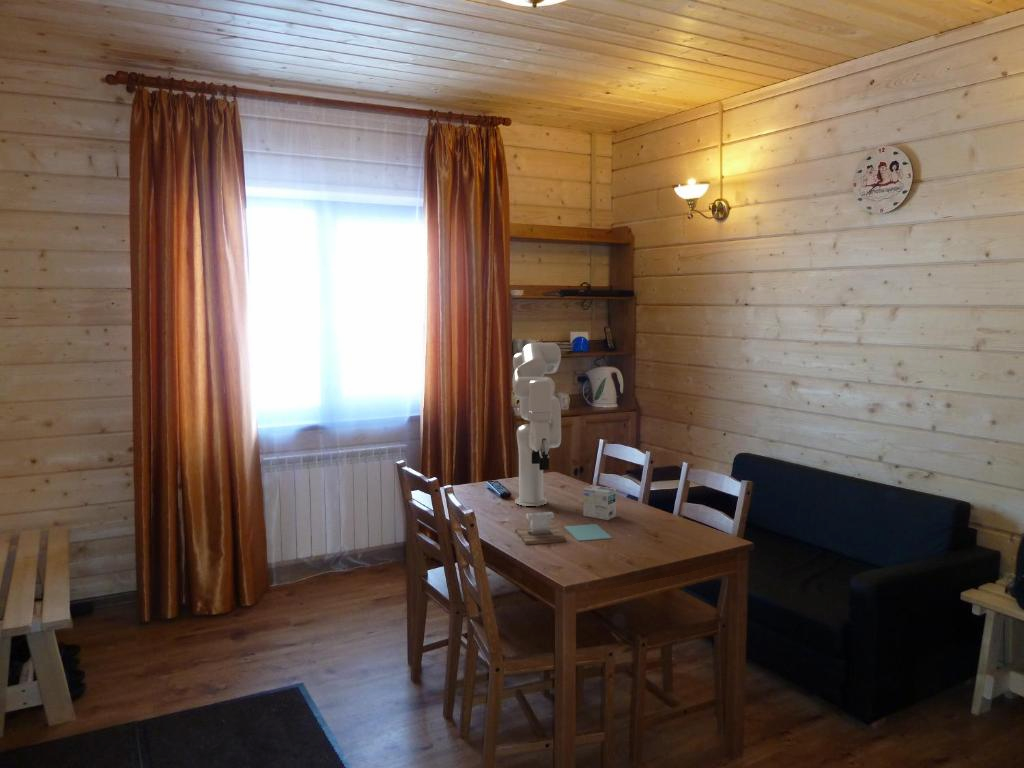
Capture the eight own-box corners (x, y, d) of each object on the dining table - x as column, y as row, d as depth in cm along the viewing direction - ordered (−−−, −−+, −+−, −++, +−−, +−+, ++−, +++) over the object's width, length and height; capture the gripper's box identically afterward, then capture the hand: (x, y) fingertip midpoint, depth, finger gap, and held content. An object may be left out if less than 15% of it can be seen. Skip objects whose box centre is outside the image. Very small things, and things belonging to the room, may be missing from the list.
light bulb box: (616, 516, 284) (617, 488, 282) (608, 520, 278) (608, 491, 277) (591, 512, 290) (591, 484, 288) (582, 516, 284) (582, 487, 283)
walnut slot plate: (515, 532, 265) (515, 528, 265) (553, 528, 268) (553, 525, 268) (525, 544, 252) (525, 541, 251) (565, 541, 255) (565, 537, 255)
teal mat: (563, 527, 270) (563, 526, 270) (596, 524, 273) (596, 524, 273) (578, 541, 255) (578, 540, 255) (612, 538, 257) (612, 537, 257)
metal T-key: (526, 536, 260) (526, 513, 259) (551, 534, 262) (551, 511, 261) (528, 539, 257) (528, 516, 256) (554, 537, 259) (554, 514, 259)
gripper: (522, 413, 263) (523, 461, 265) (536, 420, 246) (536, 473, 248) (543, 412, 264) (543, 460, 266) (558, 420, 248) (558, 471, 250)
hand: (540, 466), depth 257 cm, fingers open, 9 cm apart
